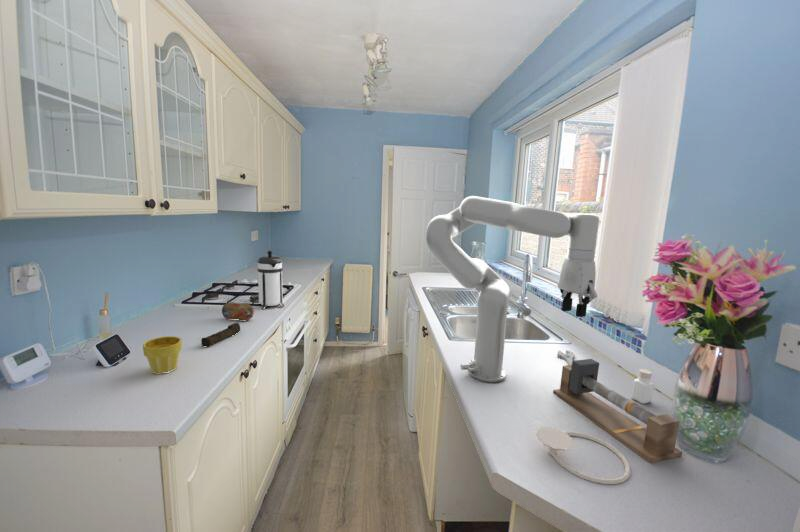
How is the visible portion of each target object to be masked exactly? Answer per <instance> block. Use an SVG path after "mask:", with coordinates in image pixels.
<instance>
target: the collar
mask: <svg viewBox="0 0 800 532" xmlns="http://www.w3.org/2000/svg"><path fill="white" fill-rule="evenodd" d="M599 367H600V362H598V361H596V359H595V360H594V359H592V358H586V359H578V360H573V361H572V368H571V376H570V384H569V389H570V390H571V391H573V392H574V393H576V394H580V393H587V392H589V393H592V392H593V393H595V392H594V391H592V390H590V389H589V388H587V387H586V386H584V385H582V379H583V376H589V377H590V378H592V379H594V380H596V381H597V382H598V375H599V370H600V369H599Z"/></svg>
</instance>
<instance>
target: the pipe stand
mask: <svg viewBox="0 0 800 532" xmlns="http://www.w3.org/2000/svg"><path fill="white" fill-rule="evenodd" d="M571 368H572V365H568V364H567V365H562V370H561V378H560V386H559V388H556V389H553V392H552V393H553V394H554V395H555V396H557V397H558V398H560V399H561V400H562V401H564V402H565V403H566V404H568V405H569V406H570V407H572V408H573V409H575V410H576V411H577V412H579V413H580V414H582V415H583V416H585V417H586V418H587V419H589V421H592V422H593V423H594V424H595V425H597V426H598V427H600V428H601V429H602V430H604V431H605V432H606V433H608V434H609V435H610V436H612V437H613V438H615V439H616V440H618V441H619V442H620V443H621V444H623V445H625V446H626V447H627V448H628V449H630V450H631V451H633V452H634V453H635V454H637V455H638V456H640V457H641V458H642V459H643V460H645V461H646V462H648V463H649V464H652V463H656V462H661V461H665V460H669V459H674V458H677V457H678V458H679V457H681V456H682V455H683V451H681V450H680V449H679V448H677V447H676V443H677V439H678V433H679V428H680V427H679V426H680V420H679V419H678V418H675V417H673V415H672V416H671V415H670V414H667V413H666V414H665V413H664V414H659V415H656V414H654V413H652V412H650V411H648V409H647V410H646V409H645V408H643V407H641V406H640V405H638V404H637V403H635V402H634V401H632V400H630V399H628V398H626V397H625V396H623V395H622V394H620V393H618V392H616V391H615V390H612V389H611V388H610V387H608V386H606V385H605V384H602V383H601V382H599V381H598V380H597V381H596V380H594V379H592V378H590V377H589V376H583V379H582V385H584V386H586V387H587V388H589V389H590V390H592V391H594V392H593V393H596V394H597V395H598V396H600V397H602V398H604V399H605V400H607V402H609V403H612V404H613V405H615V406H616V407H618V408H619V409H621V410H622V411H624V412H625V413H627V414H629V415H630V416H632V417H634V418H636V419H637V420H639V421H640V422H641V423H643V424H645V425H646V427H644V426H643V425H640V424H639V423H637V421H634V420H633V419H631V418H630V417H628V416H627V415H625V414H624V413H622V412H620V411H619V410H617V409H616V408H614V407H612V406H611V405H609V404H608V403H606V402H605V401H603V400H601V399H600V398H598V397H597V396H595V395H594V394H592V392H587V393H580V394H576V393H574V392H573V391H571V390H570V389H569V384H570V376H571Z"/></svg>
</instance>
